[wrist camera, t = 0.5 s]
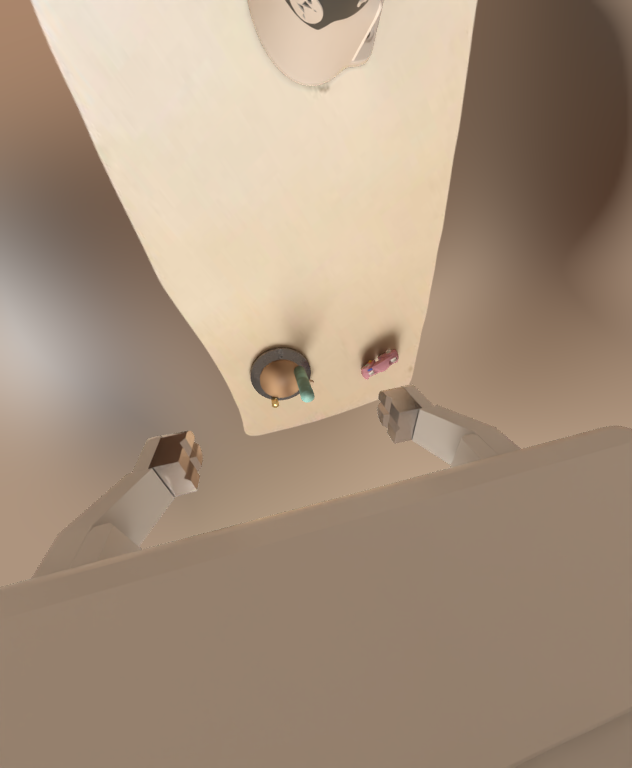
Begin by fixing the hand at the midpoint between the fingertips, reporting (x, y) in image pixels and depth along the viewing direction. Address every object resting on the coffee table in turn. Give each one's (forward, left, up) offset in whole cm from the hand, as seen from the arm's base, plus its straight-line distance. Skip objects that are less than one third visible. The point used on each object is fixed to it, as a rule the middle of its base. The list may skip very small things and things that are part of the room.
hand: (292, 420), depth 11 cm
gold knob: (+27, +12, -42) cm, 51 cm away
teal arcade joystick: (+20, +13, -40) cm, 46 cm away
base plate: (+21, +12, -42) cm, 48 cm away
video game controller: (+10, +33, -42) cm, 54 cm away
